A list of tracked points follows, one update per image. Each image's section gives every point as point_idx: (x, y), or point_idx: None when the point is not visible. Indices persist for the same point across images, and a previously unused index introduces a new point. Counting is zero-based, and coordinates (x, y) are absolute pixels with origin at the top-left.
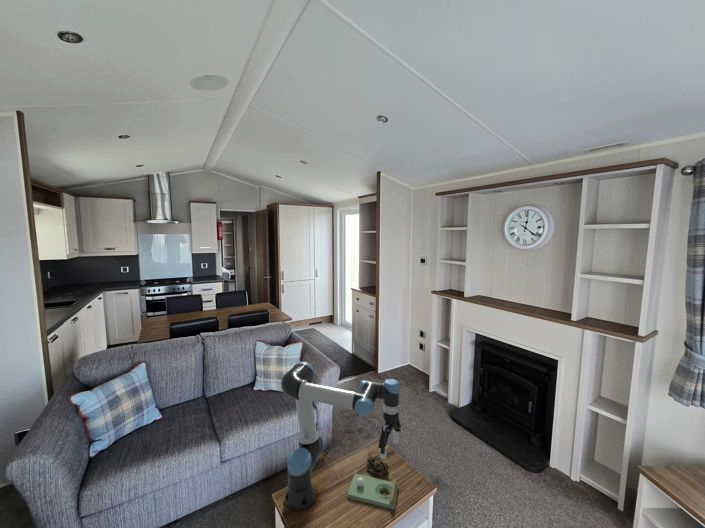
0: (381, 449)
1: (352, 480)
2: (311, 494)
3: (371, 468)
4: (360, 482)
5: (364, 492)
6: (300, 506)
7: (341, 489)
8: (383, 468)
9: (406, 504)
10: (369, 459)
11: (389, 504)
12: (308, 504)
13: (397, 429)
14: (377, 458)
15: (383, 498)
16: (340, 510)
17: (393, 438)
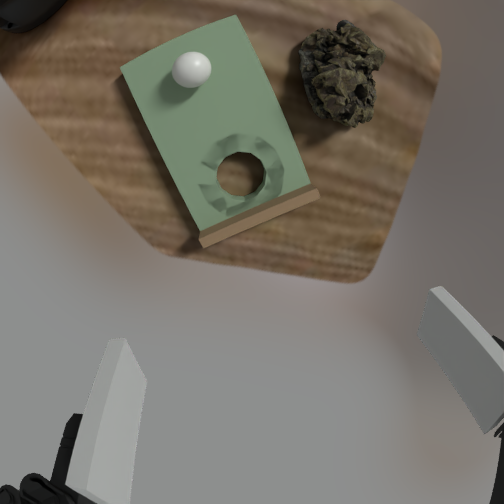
0: (59, 469)
1: (193, 31)
2: (26, 12)
3: (313, 57)
4: (178, 78)
5: (174, 112)
6: (2, 28)
7: (142, 27)
8: (337, 114)
9: (258, 260)
10: (345, 30)
11: (200, 229)
12: (20, 29)
13: (496, 475)
14: (372, 61)
15: (206, 194)
16: (71, 98)
17: (455, 322)
